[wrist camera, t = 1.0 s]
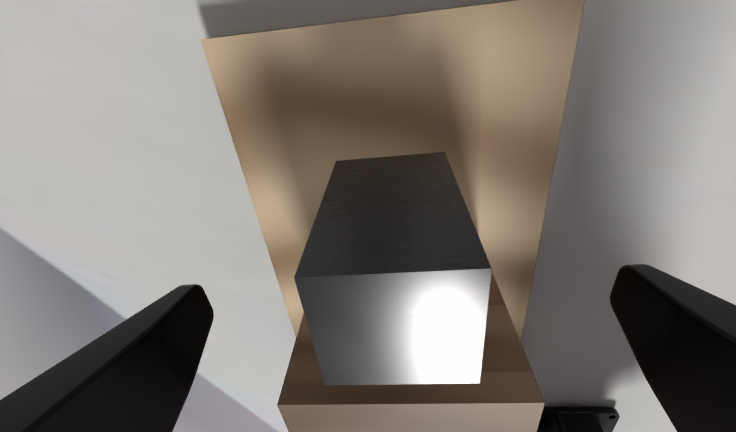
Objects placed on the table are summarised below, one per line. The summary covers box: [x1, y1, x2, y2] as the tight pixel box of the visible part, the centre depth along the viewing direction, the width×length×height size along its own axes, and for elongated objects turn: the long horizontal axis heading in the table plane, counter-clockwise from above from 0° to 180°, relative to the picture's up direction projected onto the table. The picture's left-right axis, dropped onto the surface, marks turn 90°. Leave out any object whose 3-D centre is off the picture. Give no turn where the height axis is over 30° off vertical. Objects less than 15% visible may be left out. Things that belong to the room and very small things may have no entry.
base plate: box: [201, 0, 585, 342], centre depth 18 cm, size 23×14×1 cm, turn 6°
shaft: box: [294, 152, 492, 385], centre depth 12 cm, size 16×3×5 cm, turn 6°
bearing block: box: [277, 270, 545, 432], centre depth 15 cm, size 4×8×8 cm, turn 96°
